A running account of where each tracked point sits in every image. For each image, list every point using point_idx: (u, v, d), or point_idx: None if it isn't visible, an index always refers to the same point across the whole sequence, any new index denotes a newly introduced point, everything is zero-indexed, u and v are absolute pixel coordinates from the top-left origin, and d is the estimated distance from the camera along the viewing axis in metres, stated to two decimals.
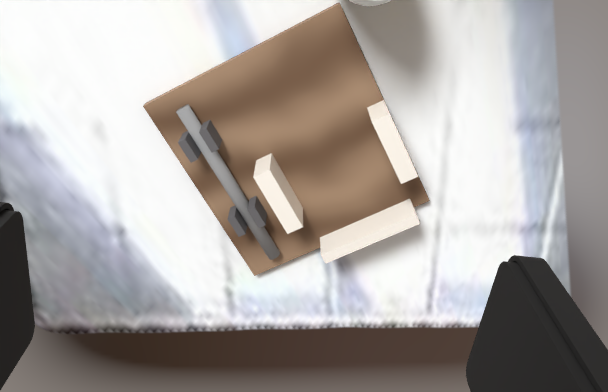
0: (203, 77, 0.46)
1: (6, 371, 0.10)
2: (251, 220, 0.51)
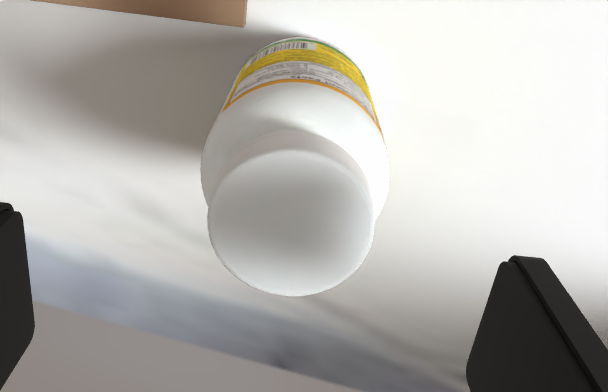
0: None
1: (6, 371, 0.10)
2: None
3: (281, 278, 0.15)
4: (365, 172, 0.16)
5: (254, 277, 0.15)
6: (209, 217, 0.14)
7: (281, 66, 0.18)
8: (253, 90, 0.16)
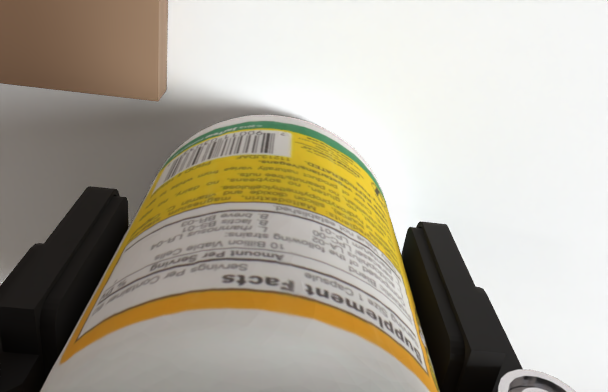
0: None
1: None
2: None
3: None
4: None
5: None
6: None
7: (210, 223, 0.08)
8: (126, 326, 0.06)
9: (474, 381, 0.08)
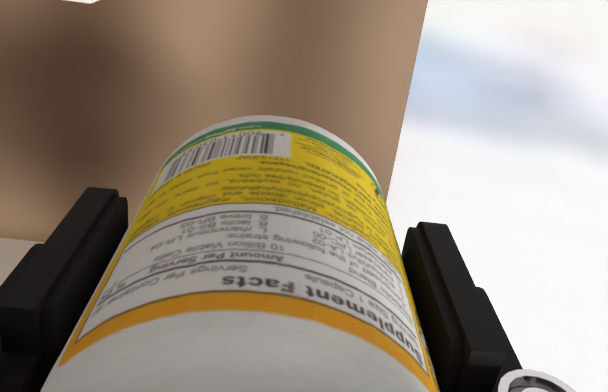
0: None
1: None
2: None
3: None
4: None
5: None
6: None
7: (210, 224, 0.08)
8: (125, 328, 0.06)
9: (474, 381, 0.08)
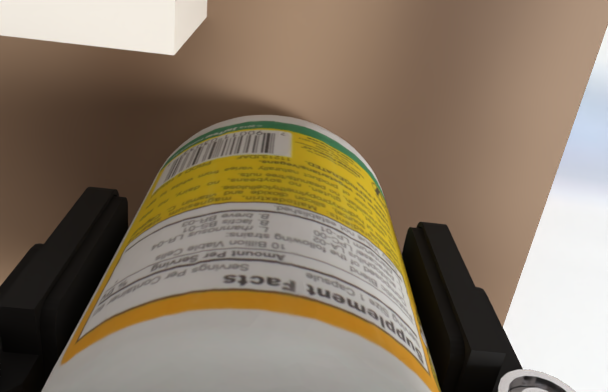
0: None
1: None
2: None
3: None
4: None
5: None
6: None
7: (211, 223, 0.08)
8: (127, 326, 0.06)
9: (474, 381, 0.08)
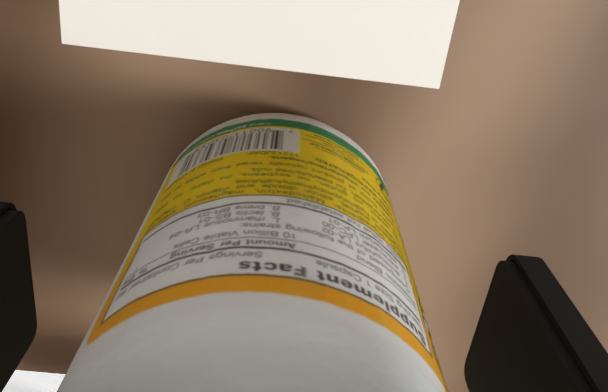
0: None
1: (9, 370, 0.10)
2: None
3: None
4: None
5: None
6: None
7: (225, 214, 0.08)
8: (150, 308, 0.07)
9: None
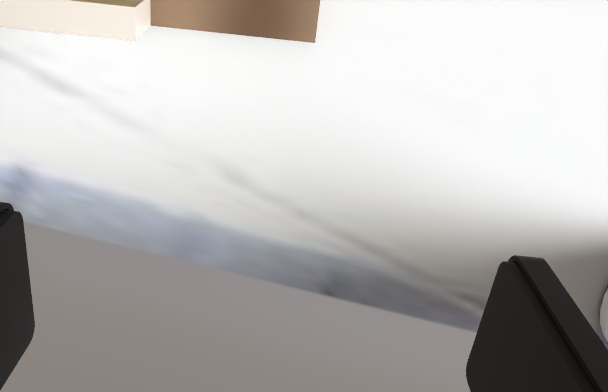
0: None
1: (6, 371, 0.10)
2: None
3: None
4: None
5: None
6: None
7: None
8: None
9: None
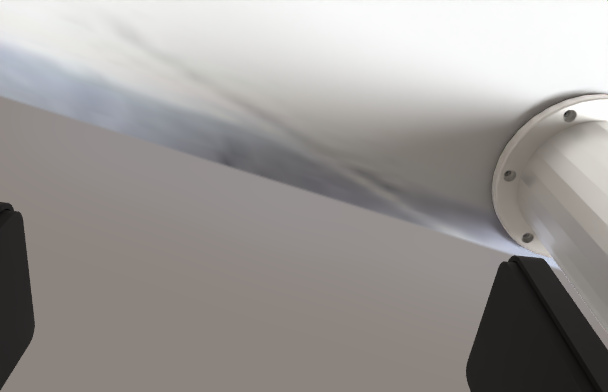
0: None
1: (6, 371, 0.10)
2: None
3: None
4: None
5: None
6: None
7: None
8: None
9: None
